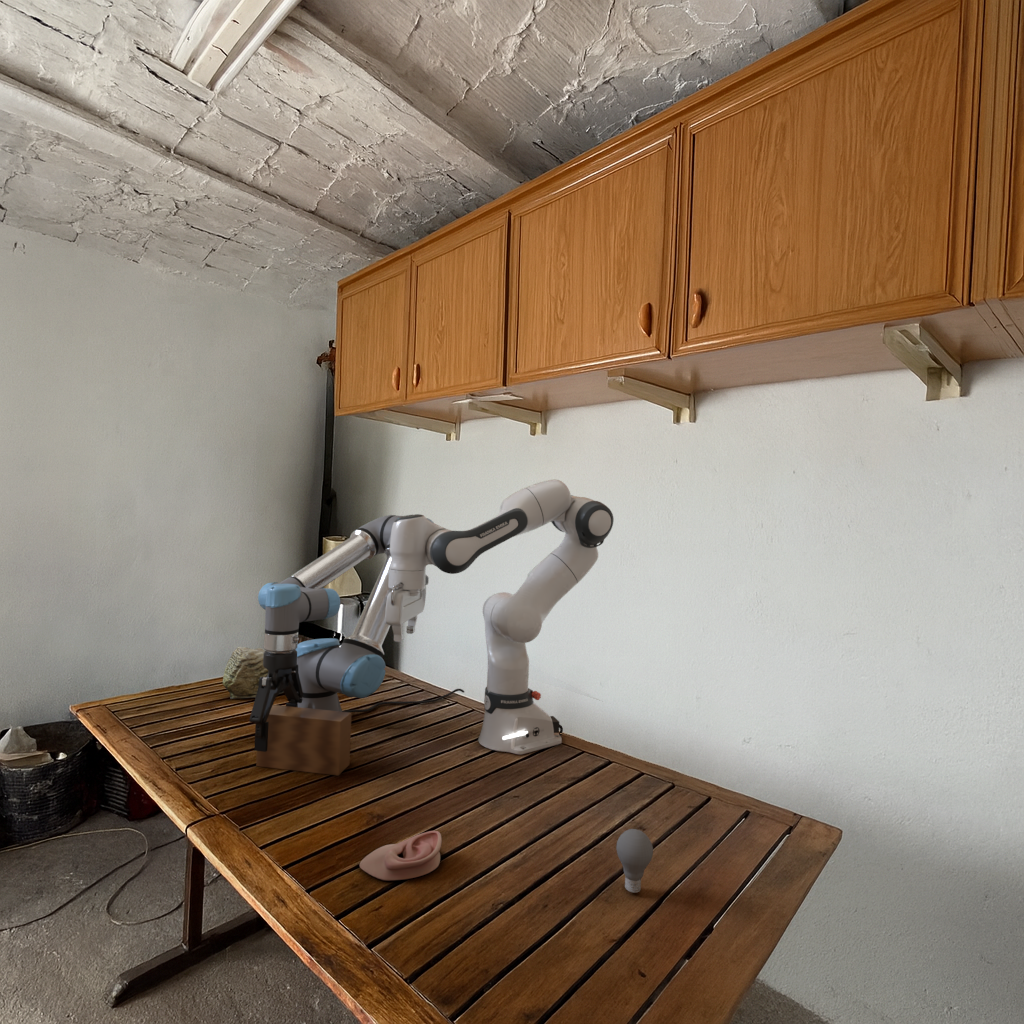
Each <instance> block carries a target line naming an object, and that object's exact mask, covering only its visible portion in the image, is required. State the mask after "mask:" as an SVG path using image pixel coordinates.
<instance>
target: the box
mask: <svg viewBox="0 0 1024 1024" xmlns="http://www.w3.org/2000/svg"><path fill="white" fill-rule="evenodd" d="M266 722H269V725H268V746H267V751H266V752H263V751H256V763H255V765H256V767H261V768H268V769H279V770H284V771H285V770H286V771H295V772H303V773H313V774H314V773H315V774H321V775H322V774H323V775H329V776H330V775H331V776H338V777H339V776H340V775H341V774H342V773H343V772H344V771H345V770H346V769H347V768H348V767H349V766H350V765H351V763H350V762H351V761H350V759H351V737H352V712H351V713H350V712H340V711H330V710H320V709H310V708H300V707H290V706H286V705H279V704H273V705H272V708H271V711H270V713H269V716H268V718H267V721H266Z"/></svg>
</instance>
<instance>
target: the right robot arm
mask: <svg viewBox="0 0 1024 1024" xmlns="http://www.w3.org/2000/svg"><path fill="white" fill-rule="evenodd" d="M401 516H402V517H399V518H397V519H396V520H395V521H394V523H393V526H392V531H391V538H390V554H391V562H390V565H389V582H388V587H389V588H391V589H393V590H392V591H391V592H389V594H388V596H387V601H386V611H385V622H386V624H387V625H390V626H391V629H392V632H393V641H394V642H396V643H401V642H402V641H403V640H404V633H403V626H404V625H403V624H405V623H406V622H407V625H406V631H405V632H406V634H410V635H413V634H414V633H415V632H416V624H417V621H418V615H420V614H422V613H423V612H424V610H425V606H426V596H427V586H428V585H429V579H430V577H429V576H428V575H427V574H426V567H427V566H428V565H431V566H432V565H433V566H434V567H437V569H439V570H440V571H441V572H443V573H445V574H450V575H455V574H460V573H462V572H464V571H466V570H467V569H468V568H469V567H470V566H471V565H472V564H473V563H474V562H475V561H476V560H477V558H479V556H480V555H482V554H484V553H485V552H487V551H489V550H491V549H493V548H494V547H497V546H499V545H500V544H502V543H505V542H506V541H508V540H510V539H512V538H514V537H517V536H521V535H523V534H526V533H530V532H532V531H535V530H537V529H539V528H541V527H543V526H545V525H548V524H549V523H551V524H552V525H553V526H554V527H555V529H556V530H558V531H559V532H562V533H565V534H564V537H563V540H562V541H561V543H560V544H559V545H558V546H557V547H556V548H554V550H552V551H550V553H549V554H547V555H546V556H545V557H544V558H543V559H542V560H541V561H540V562H539V563H538V564H536V565H535V567H533V568H532V569H531V570H530V571H529V572H528V574H527V576H526V578H525V580H524V582H523V583H522V584H521V585H520V587H519V588H518V590H517V591H516V592H515V593H514V594H512V593H510V592H504V591H501V592H496V593H492V594H491V595H490V596H488V597H487V598H486V599H485V601H484V603H483V605H482V616H483V621H484V632H485V633H484V634H485V643H486V652H487V670H486V671H487V672H486V673H487V674H486V687H485V688H484V699H483V707H484V715H483V721H482V725H481V730H480V733H479V736H478V739H477V741H478V743H479V745H481V747H484V748H486V749H489V750H492V751H497V752H504V753H505V752H506V753H510V754H515V755H525V754H528V753H529V754H530V753H532V752H536V751H539V750H543V749H547V748H551V747H554V746H558V745H560V744H562V743H563V739H562V736H563V731H564V728H563V726H562V724H560V720H559V719H557V718H556V717H555V716H554V715H550V714H549V713H548V712H546V711H545V710H544V709H543V708H541V707H540V706H539V705H538V704H537V703H535V702H534V700H535V701H539V700H541V698H542V694H541V693H540V692H539V691H537V690H533V689H531V688H529V675H530V658H529V654H528V651H527V646H526V644H527V643H530V642H532V641H534V640H535V639H536V638H537V637H538V636H539V634H540V633H541V630H542V626H543V623H544V621H545V620H546V618H547V617H548V616H549V614H550V613H551V611H552V610H553V609H554V607H555V606H556V605H557V604H558V602H559V601H561V599H563V598H564V597H565V596H566V595H567V594H568V593H569V592H570V591H571V590H572V589H573V588H574V587H576V585H577V584H579V583H580V582H581V581H582V580H583V579H584V577H586V575H588V574H589V572H590V571H591V569H593V566H594V565H595V564H596V563H597V561H598V559H599V551H598V547H600V546H601V545H602V544H603V543H604V541H605V539H606V538H608V536H609V535H610V533H611V531H612V529H613V526H614V514H613V512H612V510H611V509H610V508H609V507H608V506H607V505H605V503H603V502H601V501H599V500H594V499H592V498H590V497H585V496H577V495H573V494H571V491H570V489H569V487H568V486H567V485H566V483H564V481H562V480H559V479H549V480H544V481H540V482H537V483H533V484H531V485H529V486H528V485H527V486H526V487H524V488H521V489H519V490H517V491H515V492H513V493H512V494H510V495H509V496H507V497H506V498H504V499H503V500H502V502H501V504H500V507H499V512H498V513H497V515H495V516H494V517H492V518H491V519H488V520H486V521H485V522H482V523H480V524H478V525H476V526H474V527H472V528H470V529H467V530H451V529H449V528H445V527H443V526H440V525H439V524H436V523H435V522H434V521H433V522H434V523H433V522H431V521H430V520H431V519H430V520H428V519H429V518H428V517H426V516H425V515H423V514H419V513H418V514H407V515H401ZM427 518H428V519H427ZM560 733H562V734H560Z"/></svg>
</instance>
